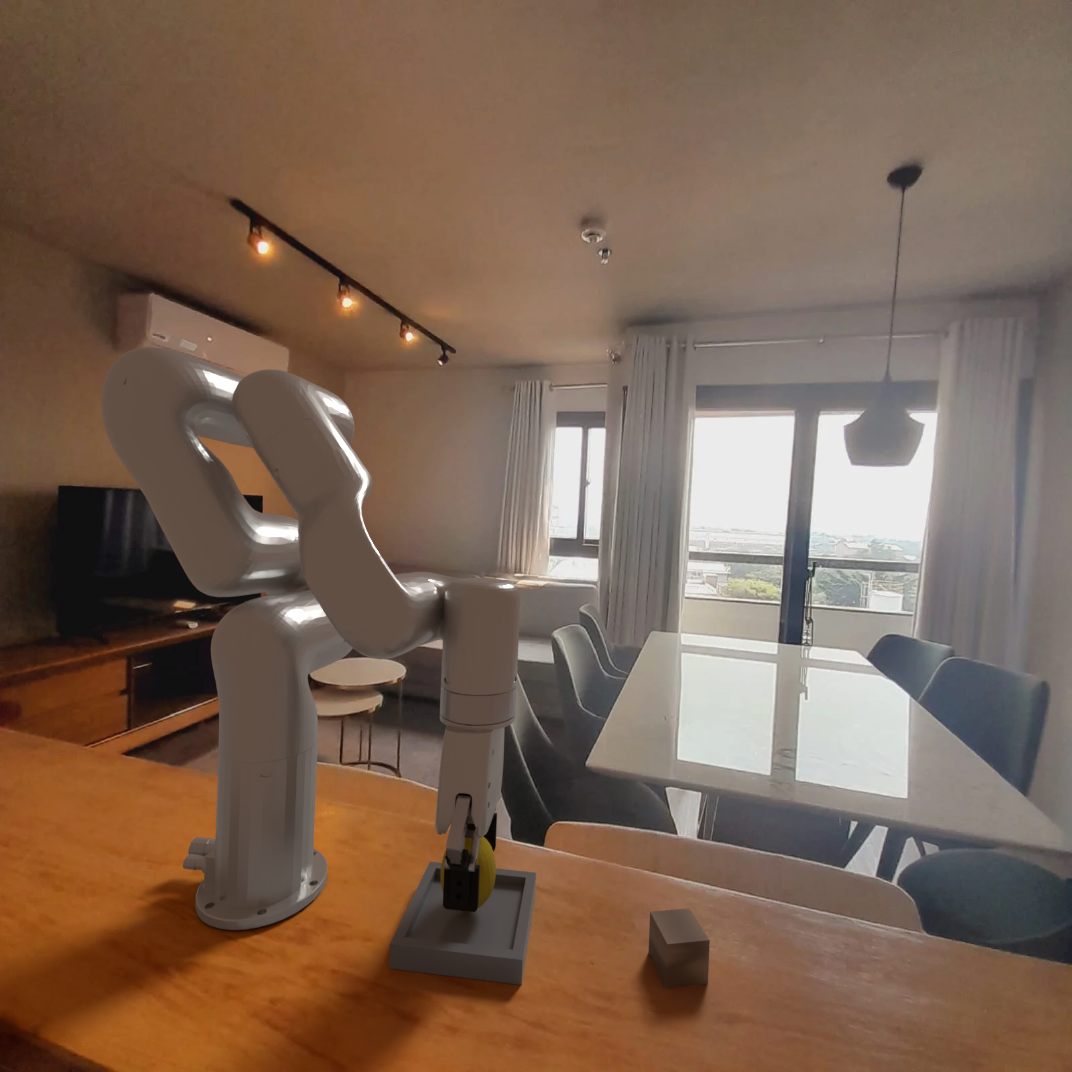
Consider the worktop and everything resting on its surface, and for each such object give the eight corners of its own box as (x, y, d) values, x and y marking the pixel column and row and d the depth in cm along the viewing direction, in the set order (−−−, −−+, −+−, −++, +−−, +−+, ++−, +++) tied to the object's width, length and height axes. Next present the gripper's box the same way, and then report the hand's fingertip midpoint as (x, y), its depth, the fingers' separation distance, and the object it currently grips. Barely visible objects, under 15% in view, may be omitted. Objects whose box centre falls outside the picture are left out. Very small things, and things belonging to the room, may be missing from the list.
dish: (388, 968, 47) (389, 943, 47) (429, 881, 59) (429, 861, 59) (521, 984, 46) (522, 960, 46) (535, 892, 58) (536, 872, 58)
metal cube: (665, 989, 46) (667, 944, 46) (648, 953, 50) (650, 911, 50) (707, 984, 47) (709, 940, 47) (687, 949, 51) (689, 908, 51)
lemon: (495, 892, 56) (497, 817, 56) (493, 932, 50) (495, 848, 50) (443, 892, 56) (445, 816, 56) (435, 932, 50) (437, 848, 50)
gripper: (462, 677, 62) (456, 825, 62) (413, 732, 44) (404, 938, 44) (526, 681, 61) (519, 831, 61) (501, 739, 44) (492, 949, 44)
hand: (471, 875), depth 53 cm, fingers open, 8 cm apart
